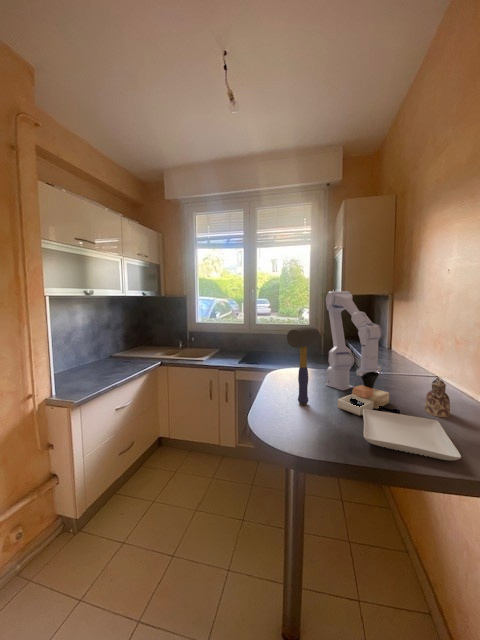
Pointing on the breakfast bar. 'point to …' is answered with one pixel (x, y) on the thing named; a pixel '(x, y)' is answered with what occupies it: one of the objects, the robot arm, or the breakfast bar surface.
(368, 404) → the tray
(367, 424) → the salad plate
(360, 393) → the terracotta-coloured block
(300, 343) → the rubber mallet
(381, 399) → the beige bevelled block
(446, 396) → the figurine
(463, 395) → the breakfast bar surface
